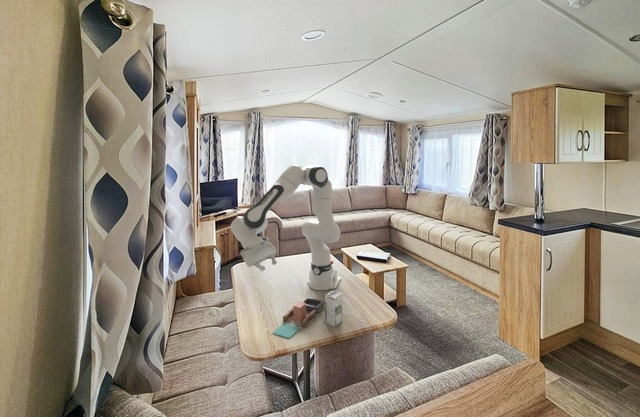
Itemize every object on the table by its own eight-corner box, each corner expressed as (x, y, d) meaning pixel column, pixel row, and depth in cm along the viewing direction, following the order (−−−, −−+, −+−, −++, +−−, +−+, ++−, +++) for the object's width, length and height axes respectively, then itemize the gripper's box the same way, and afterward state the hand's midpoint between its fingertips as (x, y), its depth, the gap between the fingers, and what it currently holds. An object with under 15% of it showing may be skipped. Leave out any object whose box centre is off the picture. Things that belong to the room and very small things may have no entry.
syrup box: (332, 318, 149) (332, 289, 146) (342, 322, 145) (342, 293, 142) (325, 323, 144) (324, 294, 142) (335, 327, 141) (335, 297, 138)
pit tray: (307, 302, 165) (307, 297, 164) (324, 306, 160) (324, 300, 160) (299, 309, 158) (299, 303, 157) (317, 313, 153) (316, 307, 153)
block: (299, 315, 151) (298, 301, 150) (306, 317, 150) (305, 303, 148) (293, 320, 147) (293, 305, 146) (300, 322, 145) (300, 307, 144)
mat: (283, 323, 144) (283, 322, 144) (300, 328, 140) (300, 327, 140) (272, 333, 137) (272, 332, 136) (289, 339, 132) (289, 338, 132)
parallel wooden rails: (296, 310, 156) (296, 304, 156) (316, 315, 151) (316, 309, 150) (283, 322, 146) (282, 316, 145) (303, 327, 141) (303, 321, 140)
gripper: (242, 247, 144) (259, 270, 141) (268, 236, 162) (285, 257, 159) (235, 254, 147) (252, 278, 144) (262, 243, 165) (278, 264, 162)
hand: (269, 267), depth 152 cm, fingers open, 8 cm apart
